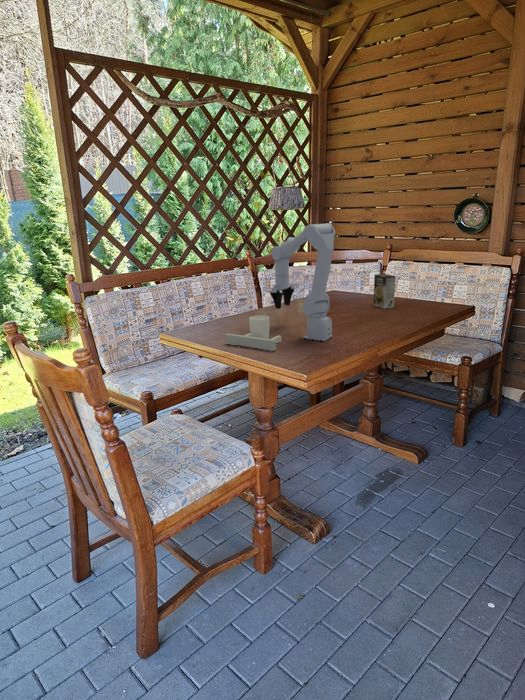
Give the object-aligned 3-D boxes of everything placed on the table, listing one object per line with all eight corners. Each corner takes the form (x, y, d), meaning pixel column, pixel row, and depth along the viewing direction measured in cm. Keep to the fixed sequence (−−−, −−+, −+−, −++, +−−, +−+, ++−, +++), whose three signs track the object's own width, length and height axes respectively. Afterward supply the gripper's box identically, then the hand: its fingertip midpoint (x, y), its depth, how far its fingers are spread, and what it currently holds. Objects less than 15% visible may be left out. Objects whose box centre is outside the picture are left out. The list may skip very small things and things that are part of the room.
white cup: (255, 346, 179) (254, 320, 176) (247, 342, 186) (245, 317, 183) (274, 343, 182) (273, 318, 180) (264, 338, 189) (263, 314, 186)
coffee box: (372, 306, 243) (373, 274, 239) (382, 304, 246) (384, 273, 241) (384, 309, 235) (385, 276, 231) (394, 307, 238) (396, 275, 233)
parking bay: (291, 343, 182) (290, 333, 181) (273, 351, 172) (273, 341, 171) (244, 336, 194) (243, 327, 192) (225, 344, 184) (225, 334, 182)
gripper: (282, 272, 207) (283, 303, 211) (264, 276, 195) (265, 309, 199) (296, 273, 203) (297, 304, 207) (279, 277, 191) (280, 310, 195)
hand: (282, 306), depth 203 cm, fingers open, 7 cm apart
